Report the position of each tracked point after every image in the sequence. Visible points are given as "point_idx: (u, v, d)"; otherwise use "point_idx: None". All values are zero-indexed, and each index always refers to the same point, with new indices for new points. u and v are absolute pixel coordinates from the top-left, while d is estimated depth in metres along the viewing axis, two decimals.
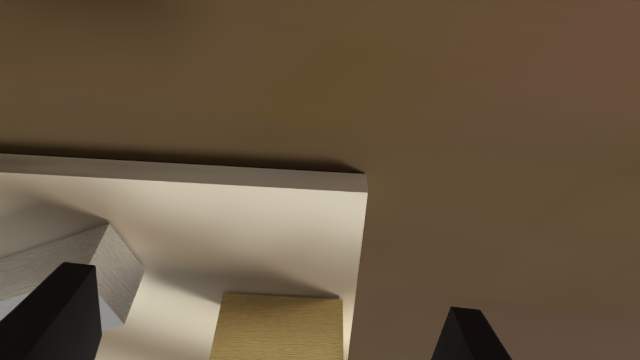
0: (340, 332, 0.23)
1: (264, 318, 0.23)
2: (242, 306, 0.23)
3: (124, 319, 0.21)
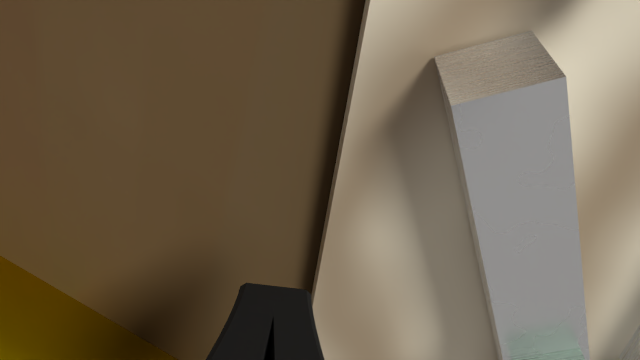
0: None
1: None
2: None
3: (559, 74, 0.13)
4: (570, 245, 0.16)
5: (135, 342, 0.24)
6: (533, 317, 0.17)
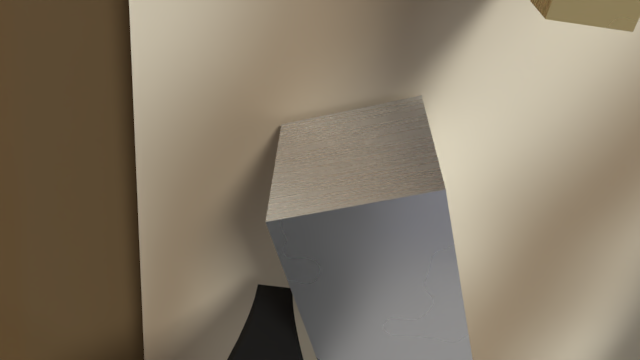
0: None
1: None
2: None
3: (437, 182, 0.08)
4: None
5: None
6: None
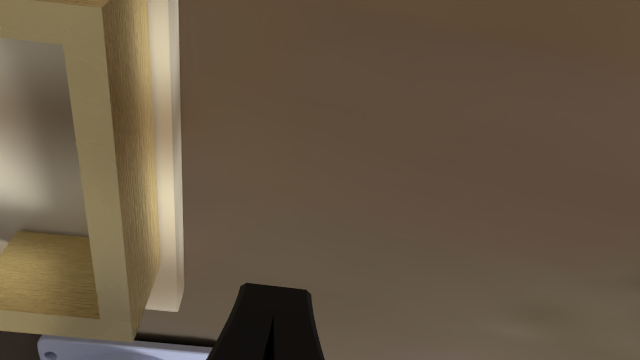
0: None
1: None
2: None
3: None
4: None
5: None
6: None
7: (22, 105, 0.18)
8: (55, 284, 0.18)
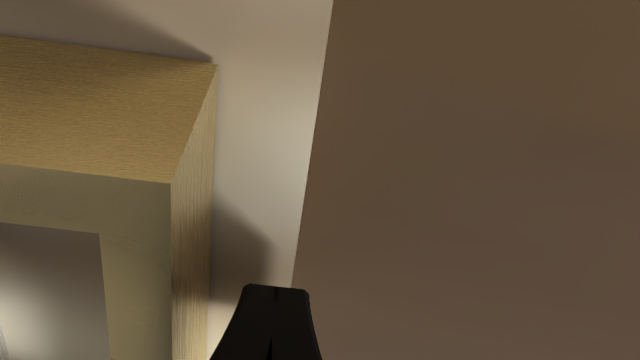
0: (191, 112, 0.09)
1: None
2: None
3: None
4: None
5: None
6: None
7: (83, 248, 0.13)
8: None
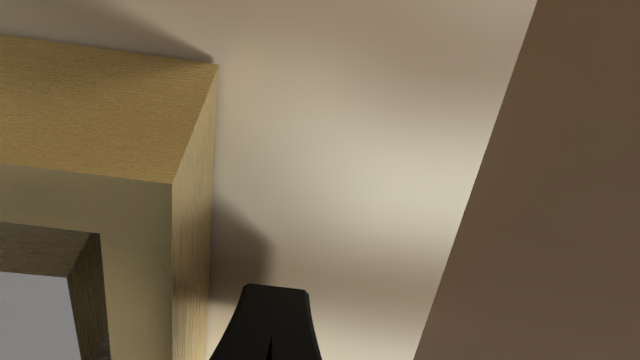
0: (192, 112, 0.09)
1: None
2: None
3: None
4: None
5: None
6: None
7: (234, 265, 0.13)
8: None
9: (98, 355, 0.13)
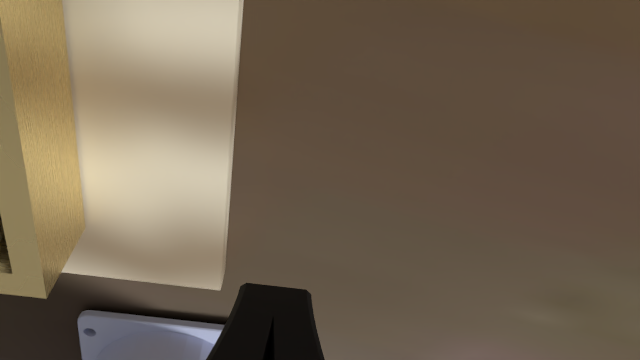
0: None
1: None
2: None
3: None
4: None
5: None
6: None
7: (89, 83, 0.18)
8: None
9: None
